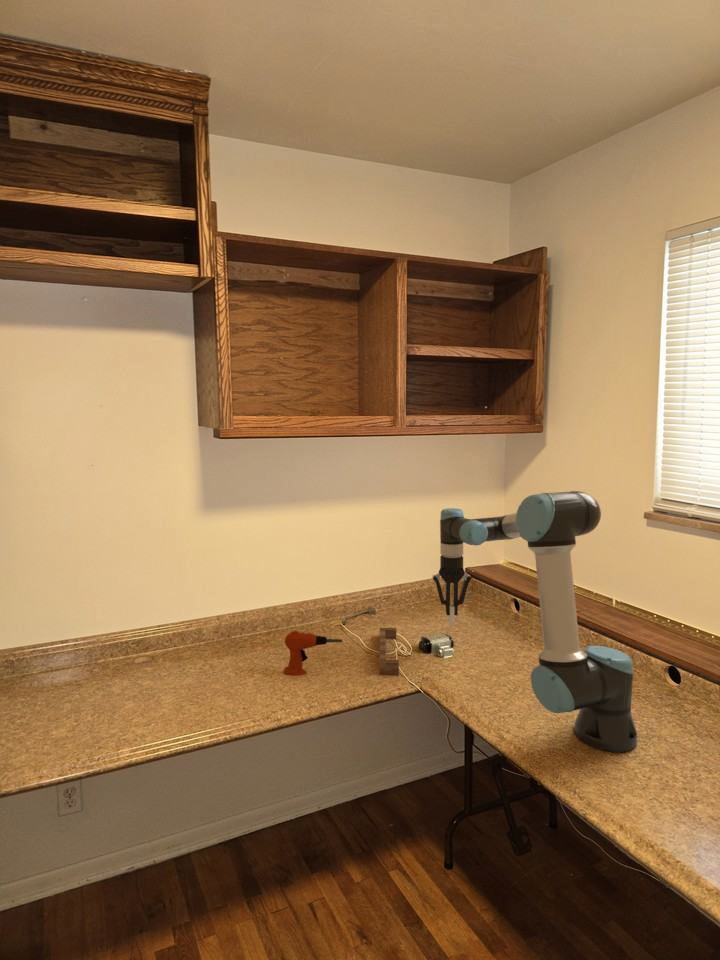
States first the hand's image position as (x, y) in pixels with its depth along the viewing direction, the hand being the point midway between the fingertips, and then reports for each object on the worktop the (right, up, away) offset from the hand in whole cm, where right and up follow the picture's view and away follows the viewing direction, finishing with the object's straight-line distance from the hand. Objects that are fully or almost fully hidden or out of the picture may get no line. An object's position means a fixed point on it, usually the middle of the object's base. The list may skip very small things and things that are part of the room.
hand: (451, 624), depth 200 cm
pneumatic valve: (-1, -10, +1) cm, 10 cm away
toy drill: (-46, -14, -12) cm, 49 cm away
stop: (-21, -12, +2) cm, 24 cm away
